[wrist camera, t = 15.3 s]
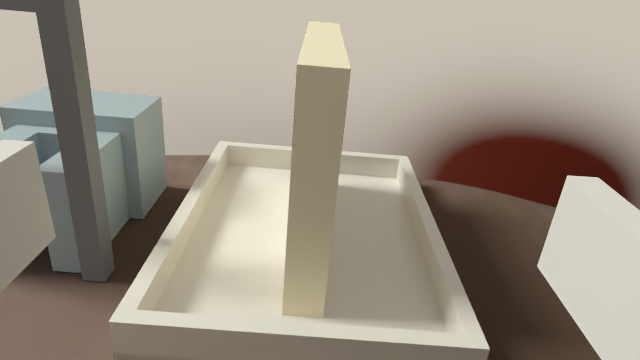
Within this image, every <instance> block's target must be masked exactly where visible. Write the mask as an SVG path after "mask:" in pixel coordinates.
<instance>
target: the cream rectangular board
mask: <svg viewBox="0 0 640 360" xmlns="http://www.w3.org/2000/svg"><path fill="white" fill-rule="evenodd" d="M350 71H351V68H350V64H349V60H348V56H347V53H346V49H345V45H344V41H343V37H342V33H341V29H340V25H339V24H338V23H327V22H316V21H309V24H308V28H307V31H306V35H305V38H304V42H303V45H302V49H301V52H300V56H299V60H298V63H297V74H296V92H295V107H294V124H293V141H292V156H291V173H290V189H289V206H288V222H287V238H286V255H285V271H284V288H283V304H282V315H290V316H304V317H318V318H323V314H324V305H325V296H326V287H327V278H328V269H329V260H330V251H331V242H332V233H333V224H334V215H335V206H336V197H337V188H338V179H339V170H340V161H341V152H342V143H343V133H344V125H345V116H346V107H347V99H348V89H349V80H350Z"/></svg>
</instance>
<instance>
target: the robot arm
mask: <svg viewBox="0 0 640 360" xmlns="http://www.w3.org/2000/svg"><path fill="white" fill-rule="evenodd" d="M55 237H56V235H55V230H54V226H53V222H52V217H51V213H50V208H49V204H48V200H47V195H46V191H45V186H44V182H43V178H42V173H41V169H40V164H39V160H38V156H37V151H36V147H35V142H34V141H18V140H1V141H0V293H1V292H2V291H3V290H4V289H5V288H6V287H7V286H8V285H9V284H10V283H11V282H12V281H13V280H14V279H15V278H16V277H17V276H18V275H19V274H20V273H21V272H22V271H23V270H24V269H25V268H26V267H27V266H28V265H29V264H30V263H31V262H32V261H33V260H34V259H35V258H36V257H37V256H38V255H39V254H40V253H41V252H42V251H43V249H44V248H45V247H46V246H47V245H48V244H49V243H50V242H51V241H52V240H53V239H54V238H55ZM537 267H538V268H539V270H540V271H541V273H542V274H543V276H544V277H545V278H546V280H547V281H548V283H549V284H550V286H551V287H552V289H553V290H554V292H555V293H556V294H557V296H558V297H559V299H560V300H561V302H562V303H563V305H564V306H565V308H566V309H567V310H568V312H569V313H570V315H571V316H572V318H573V319H574V321H575V322H576V323H577V325H578V326H579V328H580V329H581V331H582V332H583V334H584V335H585V337H586V338H587V339H588V341H589V342H590V344H591V345H592V347H593V348H594V350H595V351H596V353H597V354H598V355H599V357H600V358H601V360H640V211H639V210H638V209H637V208H635V207H634V206H633V205H632V204H631V203H629V202H628V201H627V200H626V199H624V198H623V197H622V196H620V195H619V194H618V193H617V192H615V191H614V190H613V189H612V188H610V187H609V186H608V185H607V184H605V183H604V182H603V181H602V180H600V179H599V178H596V177H579V176H567V178H566V181H565V185H564V187H563V190H562V194H561V196H560V200H559V202H558V205H557V208H556V211H555V214H554V217H553V220H552V223H551V226H550V229H549V232H548V235H547V238H546V241H545V244H544V247H543V250H542V253H541V256H540V259H539V262H538V265H537Z"/></svg>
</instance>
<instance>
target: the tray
mask: <svg viewBox="0 0 640 360" xmlns="http://www.w3.org/2000/svg"><path fill="white" fill-rule="evenodd" d="M291 156H292V147H287V146H273V145H262V144H250V143H238V142H225V141H220V142H219V143H218V145H217V146H216V148H215V150H214V151H213V153H212V154H211V156H210V158H209V159H208V161H207V163H206V164H205V166H204V167H203V169H202V171H201V172H200V174H199V176H198V177H197V179H196V180H195V182H194V184H193V185H192V187H191V189H190V190H189V192H188V193H187V195H186V197H185V198H184V200H183V202H182V203H181V205H180V206H179V208H178V210H177V211H176V213H175V215H174V216H173V218H172V219H171V221H170V223H169V224H168V226H167V228H166V229H165V231H164V232H163V234H162V236H161V237H160V239H159V241H158V242H157V244H156V245H155V247H154V249H153V250H152V252H151V254H150V255H149V257H148V259H147V260H146V262H145V263H144V265H143V267H142V268H141V270H140V272H139V273H138V275H137V276H136V278H135V280H134V281H133V283H132V285H131V286H130V288H129V289H128V291H127V293H126V294H125V296H124V298H123V299H122V301H121V302H120V304H119V306H118V307H117V309H116V311H115V312H114V314H113V315H112V317H111V319H110V320H109V328H110V334H111V341H112V348H113V354H114V360H487V357H488V354H489V351H490V348H489V346H488V343H487V341H486V339H485V336H484V334H483V332H482V329H481V327H480V325H479V322H478V320H477V318H476V315H475V313H474V311H473V308H472V306H471V304H470V301H469V299H468V297H467V294H466V292H465V290H464V287H463V285H462V283H461V280H460V278H459V276H458V273H457V271H456V269H455V266H454V264H453V262H452V259H451V257H450V255H449V252H448V250H447V248H446V245H445V243H444V241H443V238H442V236H441V234H440V231H439V229H438V227H437V224H436V222H435V220H434V217H433V215H432V213H431V210H430V208H429V206H428V203H427V201H426V199H425V196H424V194H423V192H422V189H421V187H420V185H419V182H418V180H417V178H416V175H415V173H414V171H413V169H412V166H411V164H410V162H409V159H408V157H407V156H395V155H384V154H371V153H359V152H347V151H342V152H341V161H340V170H339V179H338V188H337V197H336V206H335V215H334V224H333V233H332V242H331V251H330V260H329V269H328V278H327V287H326V296H325V305H324V314H323V318H318V317H304V316H290V315H282V304H283V288H284V271H285V255H286V238H287V222H288V206H289V189H290V173H291Z"/></svg>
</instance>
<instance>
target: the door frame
mask: <svg viewBox="0 0 640 360" xmlns="http://www.w3.org/2000/svg"><path fill="white" fill-rule="evenodd" d="M0 9H4V10H16V11H27V12H36V15H37V21H38V27H39V33H40V38H41V44H42V50H43V55H44V61H45V67H46V73H47V78H48V83H49V87H45V88H42V89H40V90H37V91H35V92H33V93H30V94H28V95H26V96H23V97H21V98H19V99H17V100H14V101H12V102H9V103H7V104H5V105H3V106H0V116H1V121H2V125H3V129H4V131H3V132H1V133H0V141H1V140H18V141H34V142H35V147H36V151H37V156H38V160H39V164H40V169H41V173H42V178H43V182H44V186H45V191H46V195H47V200H48V204H49V208H50V213H51V217H52V222H53V226H54V230H55V235H56V237H55V238H54V239H53V240H52V241H51V242H50V243H49V244H48V250H49V254H50V259H51V264H52V269H53V271H62V272H75V273H82V279H83V280H85V281H98V282H106V280H107V279H108V278H109V276H110V275H111V273H112V272H113V270H114V269H115V265H114V258H113V251H112V243H111V241H112V240H113V239H114V237H115V236H116V235H117V234H118V232H119V231H120V230H121V228H122V227H123V226H124V225H125V223H126V222H127V221H128V220H129V218H135V219H144V217H145V216H146V215H147V213H148V212H149V211H150V209H151V208H152V206H153V205H154V204H155V202H156V201H157V200H158V198H159V197H160V195H161V194H162V193H163V191H164V190H165V189H166V187H167V176H166V161H165V147H164V132H163V117H162V103H161V97H158V96H145V95H134V94H121V93H110V92H98V91H91V88H90V80H89V73H88V66H87V59H86V51H85V44H84V36H83V29H82V21H81V14H80V6H79V0H0Z"/></svg>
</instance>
